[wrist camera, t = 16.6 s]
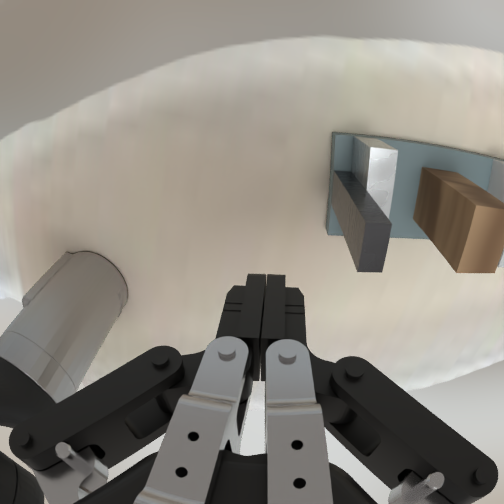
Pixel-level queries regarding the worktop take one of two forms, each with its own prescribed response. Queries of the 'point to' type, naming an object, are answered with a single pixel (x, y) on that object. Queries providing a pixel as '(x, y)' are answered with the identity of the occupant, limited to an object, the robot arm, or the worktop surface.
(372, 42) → the worktop surface
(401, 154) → the vise
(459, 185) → the block
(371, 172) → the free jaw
